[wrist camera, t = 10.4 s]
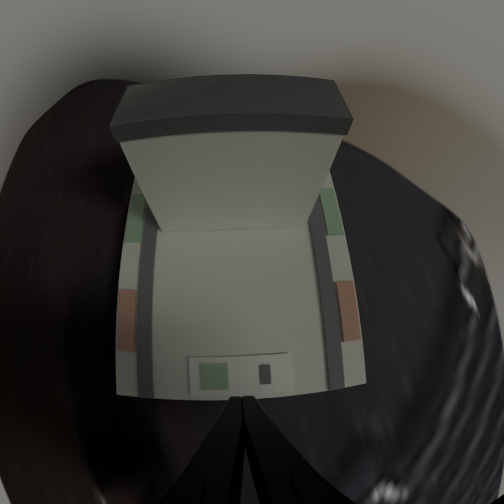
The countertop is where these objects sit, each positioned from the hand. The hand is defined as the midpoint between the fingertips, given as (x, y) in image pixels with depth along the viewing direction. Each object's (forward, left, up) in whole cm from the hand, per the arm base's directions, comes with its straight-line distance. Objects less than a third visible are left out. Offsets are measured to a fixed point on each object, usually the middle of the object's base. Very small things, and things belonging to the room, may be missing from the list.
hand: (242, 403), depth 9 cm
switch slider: (+12, 0, -7) cm, 14 cm away
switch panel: (+8, 0, -8) cm, 11 cm away
